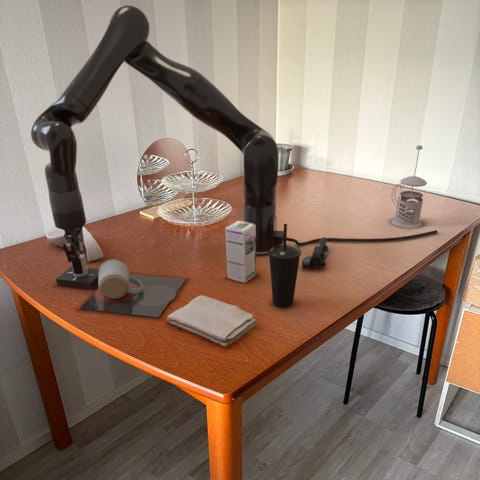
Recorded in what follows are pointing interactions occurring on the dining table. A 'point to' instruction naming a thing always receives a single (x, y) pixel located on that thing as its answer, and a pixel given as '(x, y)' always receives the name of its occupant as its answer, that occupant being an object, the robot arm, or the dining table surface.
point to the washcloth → (213, 320)
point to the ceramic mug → (116, 280)
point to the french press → (409, 202)
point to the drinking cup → (283, 272)
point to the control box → (78, 279)
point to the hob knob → (82, 266)
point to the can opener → (317, 255)
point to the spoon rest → (89, 241)
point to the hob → (139, 297)
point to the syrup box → (241, 251)
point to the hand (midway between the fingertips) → (80, 269)
